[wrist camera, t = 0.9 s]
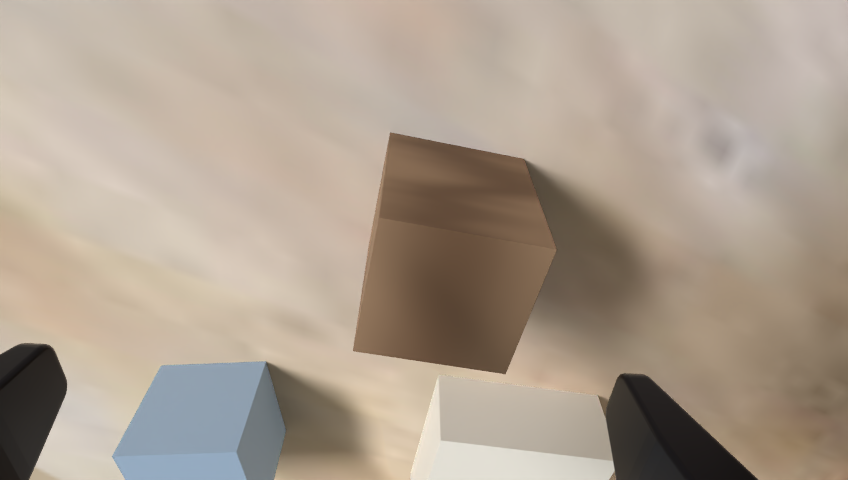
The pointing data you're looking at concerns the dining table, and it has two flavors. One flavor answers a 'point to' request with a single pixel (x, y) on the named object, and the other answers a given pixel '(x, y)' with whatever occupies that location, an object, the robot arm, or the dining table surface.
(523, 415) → the pedestal block
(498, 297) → the walnut cube
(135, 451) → the slate-blue cube
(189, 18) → the dining table surface
